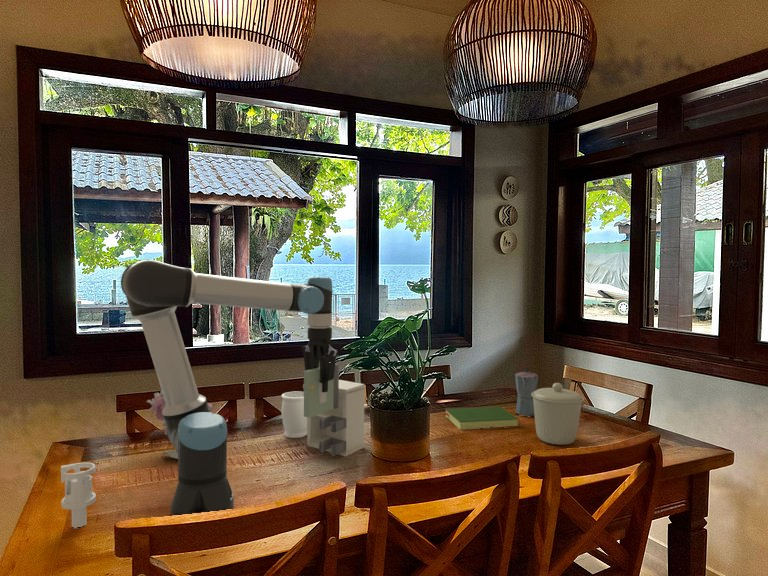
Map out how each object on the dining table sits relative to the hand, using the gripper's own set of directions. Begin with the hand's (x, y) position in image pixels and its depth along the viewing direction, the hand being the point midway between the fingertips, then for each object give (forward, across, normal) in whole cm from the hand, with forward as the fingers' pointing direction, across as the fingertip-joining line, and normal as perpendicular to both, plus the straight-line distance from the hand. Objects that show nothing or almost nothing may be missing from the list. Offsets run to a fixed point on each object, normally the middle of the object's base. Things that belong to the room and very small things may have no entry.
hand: (319, 401), depth 162 cm
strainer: (+20, +21, +62) cm, 69 cm away
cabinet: (+20, +5, -12) cm, 24 cm away
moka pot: (+20, -35, -93) cm, 101 cm away
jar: (+20, +25, -16) cm, 36 cm away
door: (+3, 0, -1) cm, 4 cm away
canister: (+20, -55, -67) cm, 89 cm away
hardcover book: (+21, -23, -72) cm, 78 cm away
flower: (+20, +44, +18) cm, 52 cm away
